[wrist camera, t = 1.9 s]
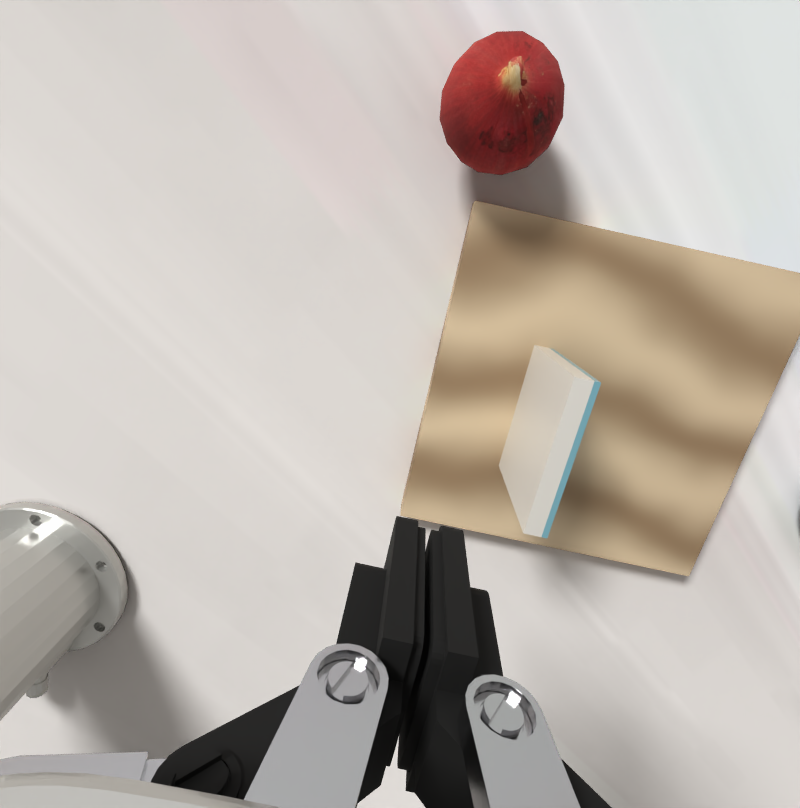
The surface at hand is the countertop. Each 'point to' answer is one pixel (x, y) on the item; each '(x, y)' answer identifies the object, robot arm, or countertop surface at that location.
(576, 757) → the countertop surface
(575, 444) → the tile
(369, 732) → the robot arm
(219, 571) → the countertop surface
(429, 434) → the board
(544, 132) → the onion
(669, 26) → the countertop surface
